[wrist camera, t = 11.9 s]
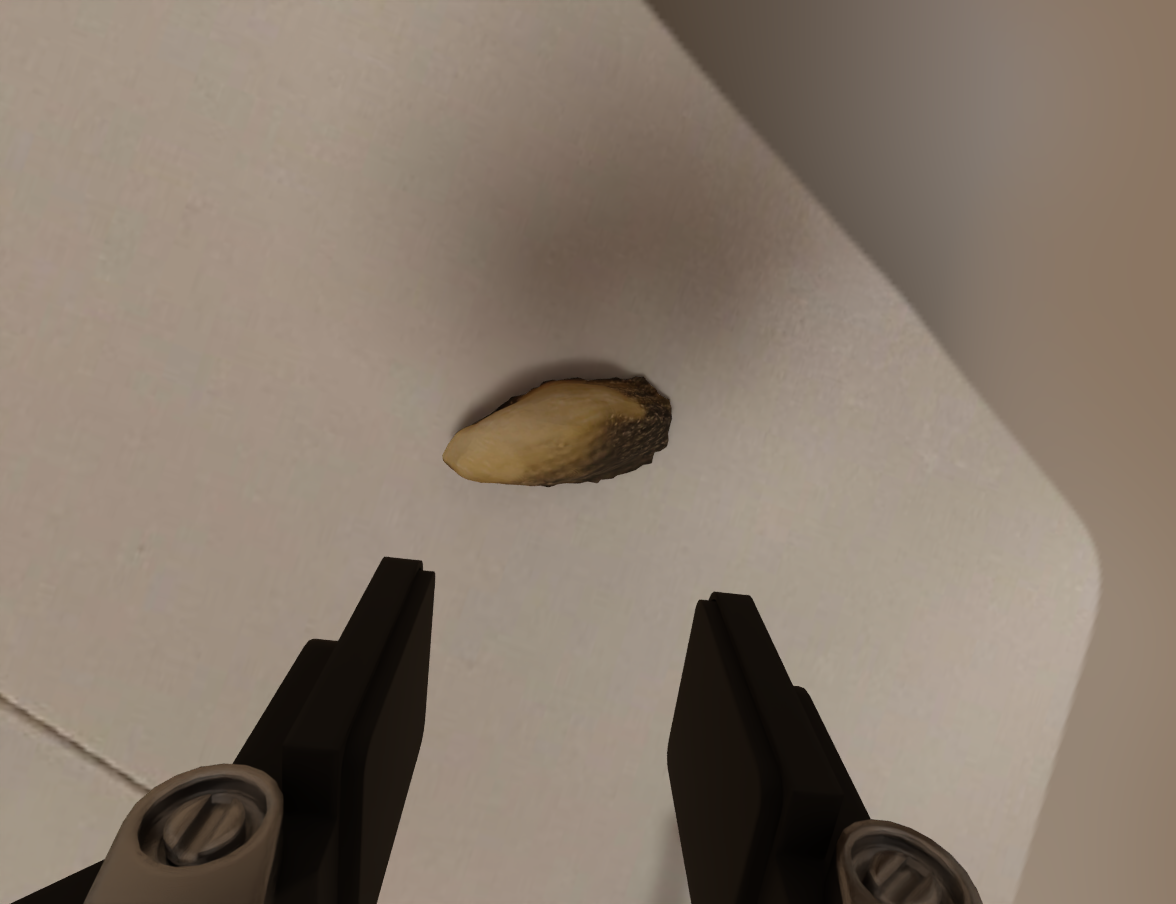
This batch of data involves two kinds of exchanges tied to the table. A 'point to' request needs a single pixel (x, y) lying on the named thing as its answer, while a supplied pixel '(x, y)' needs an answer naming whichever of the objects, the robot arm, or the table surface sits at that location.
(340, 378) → the table surface
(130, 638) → the table surface
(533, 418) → the brazil nut
